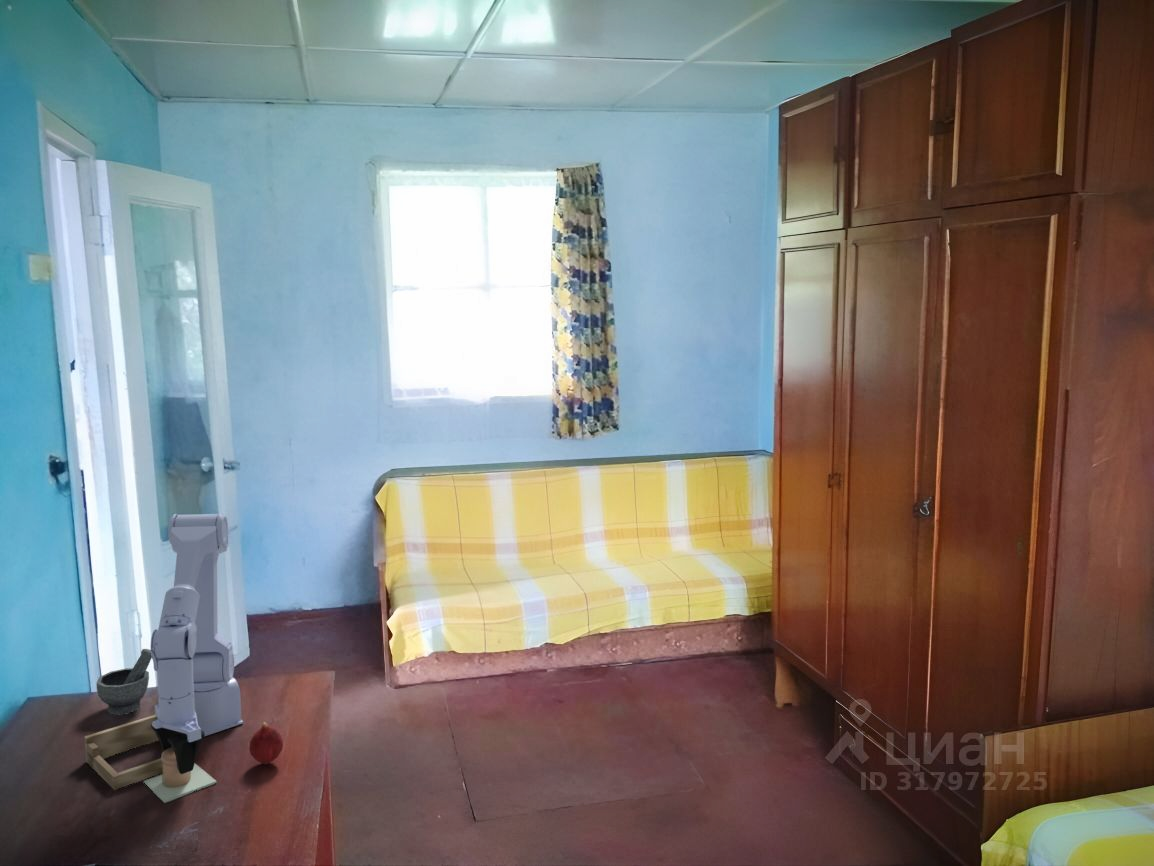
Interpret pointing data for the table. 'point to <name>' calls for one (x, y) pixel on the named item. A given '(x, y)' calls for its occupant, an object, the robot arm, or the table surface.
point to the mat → (170, 793)
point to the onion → (266, 744)
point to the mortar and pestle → (125, 686)
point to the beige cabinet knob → (172, 770)
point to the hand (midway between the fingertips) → (179, 765)
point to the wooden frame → (121, 741)
